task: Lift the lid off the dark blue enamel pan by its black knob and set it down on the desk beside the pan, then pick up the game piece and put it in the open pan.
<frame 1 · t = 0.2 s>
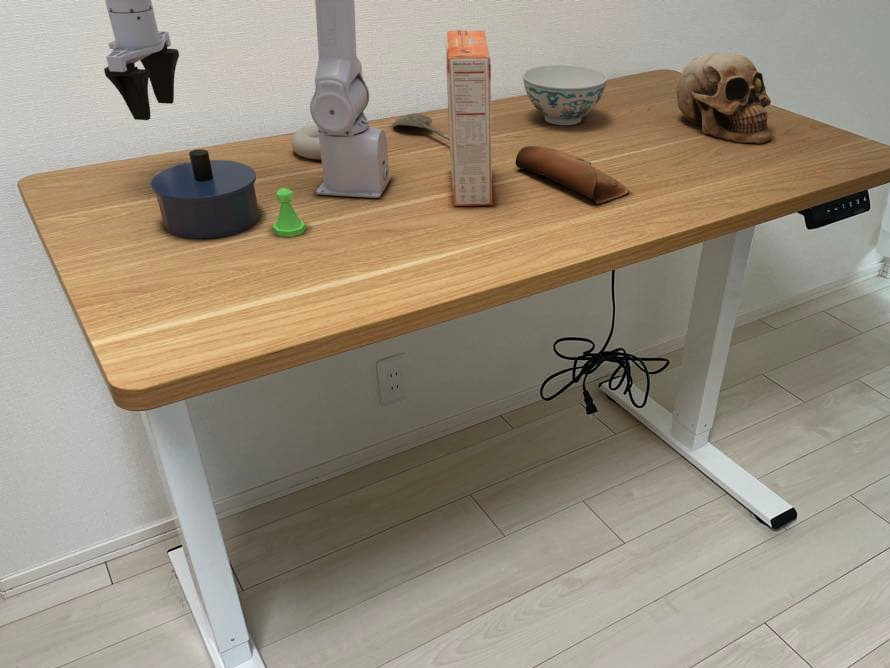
hand: (154, 110, 122), 10 cm above the table, tool pointing down, fingers open, 7 cm apart
soupspoon: (435, 142, 144), on the table
pan: (212, 219, 116), on the table
pan lid: (204, 181, 113), point 5 cm above the table, touching pan
sunglasses case: (571, 183, 130), on the table
game piece: (289, 231, 114), on the table
chinaware: (563, 120, 154), on the table
cracker box: (470, 189, 127), on the table
donut: (323, 153, 138), on the table
beige skull model: (722, 128, 153), on the table
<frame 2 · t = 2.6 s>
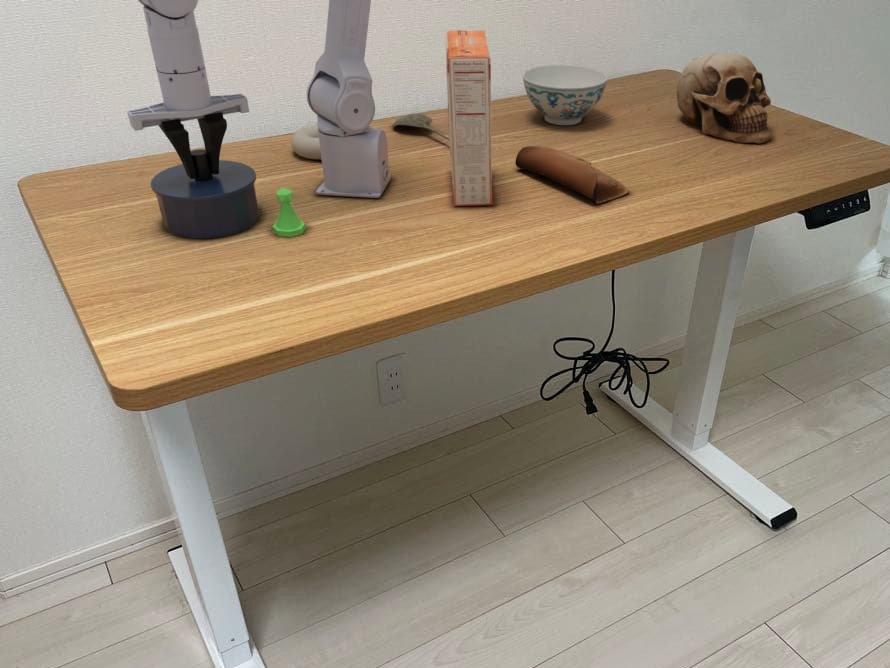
hand: (203, 174, 112), 6 cm above the table, tool pointing down, fingers closed on pan lid, 2 cm apart
pan lid: (204, 181, 113), point 5 cm above the table, touching gripper, pan
everything else where it was.
when the fingers open (2 cm above the table, at t = 7.3 s): pan lid stays where it is, point 1 cm above the table.
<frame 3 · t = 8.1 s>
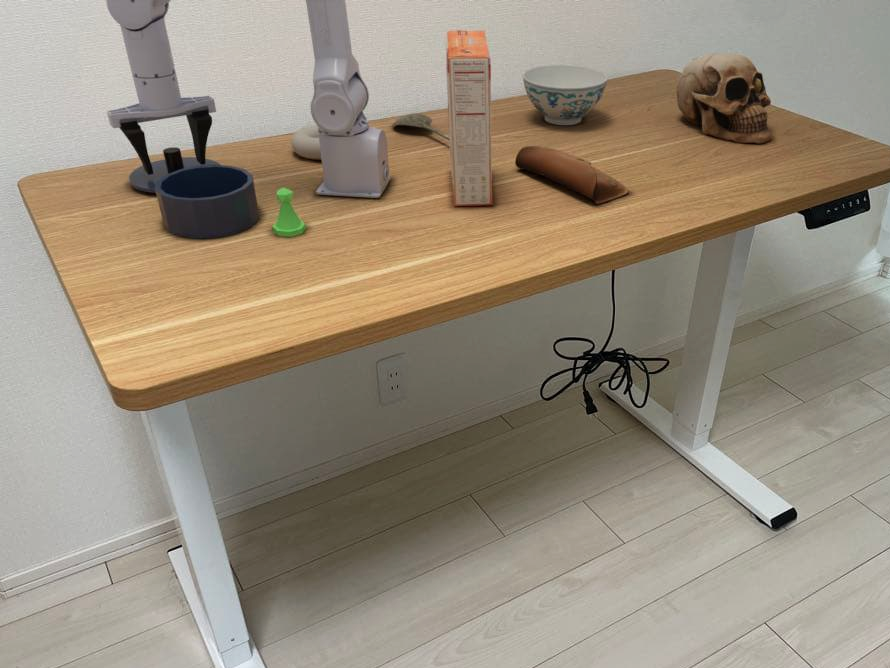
hand: (175, 167, 126), 2 cm above the table, tool pointing down, fingers open, 7 cm apart
pan lid: (177, 176, 127), point 1 cm above the table
everything else where it was.
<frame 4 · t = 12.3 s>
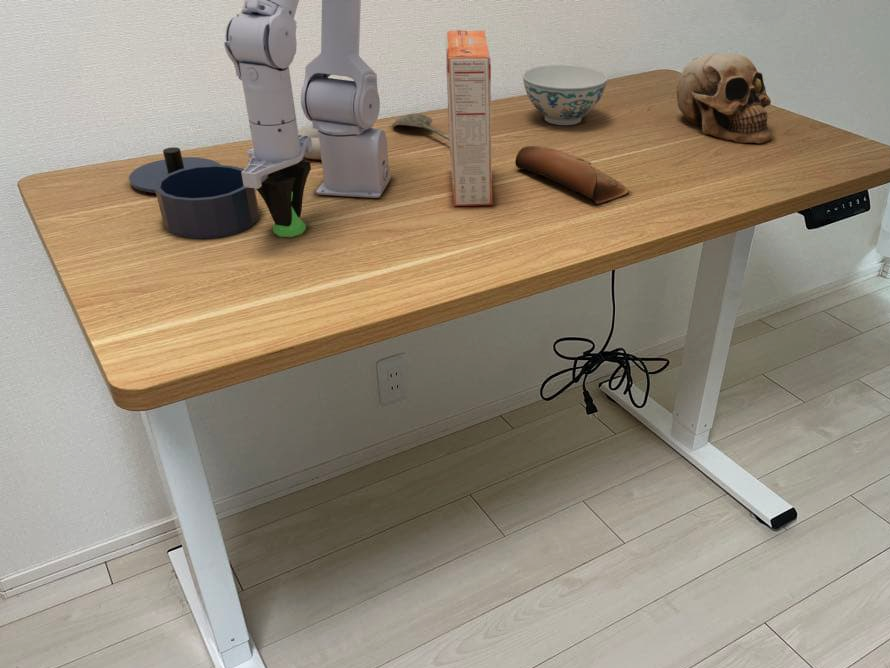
hand: (288, 220, 113), 1 cm above the table, tool pointing down, fingers closed on game piece, 2 cm apart
game piece: (289, 231, 114), on the table, touching gripper
everything else where it was.
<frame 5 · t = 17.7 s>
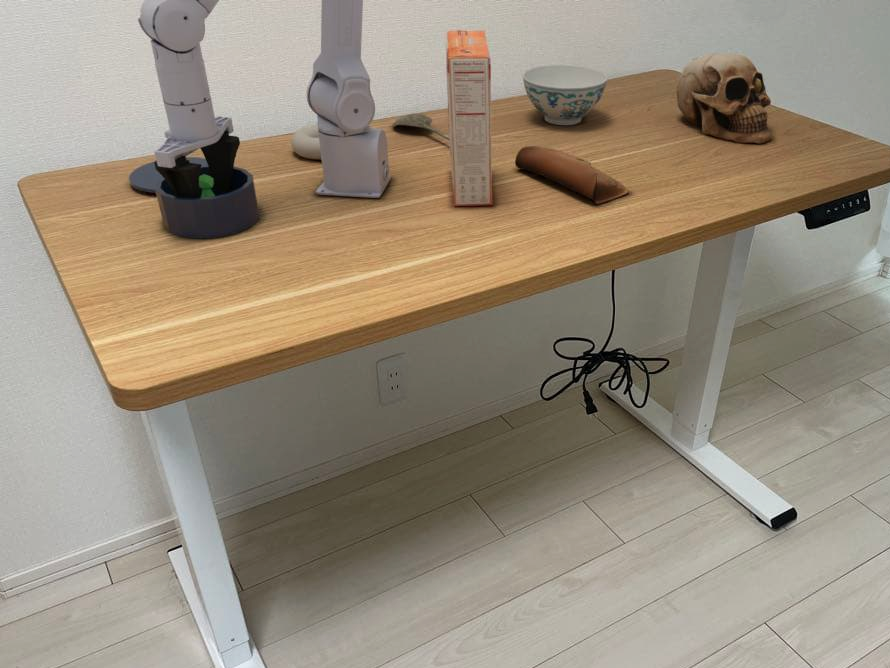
hand: (208, 201, 115), 3 cm above the table, tool pointing down, fingers open, 7 cm apart
game piece: (212, 217, 116), resting on pan
everything else where it was.
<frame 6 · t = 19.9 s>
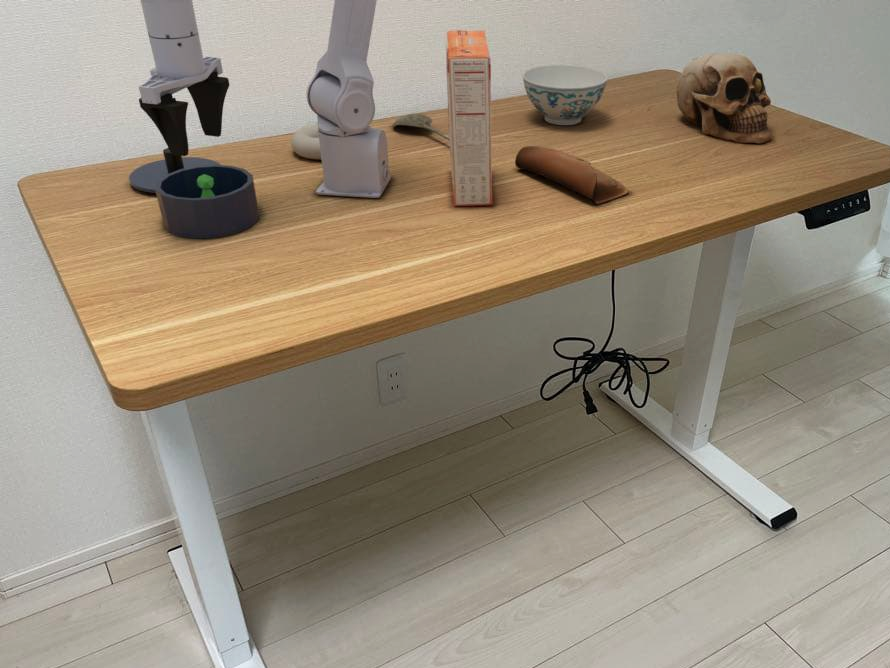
hand: (196, 144, 110), 10 cm above the table, tool pointing down, fingers open, 7 cm apart
nothing on the table moved.
at the end: pan lid inside the target area (0.0 cm from its centre), point 0.6 cm above the table; game piece inside the target area in the pan (0.0 cm from its centre), point 0.2 cm above the pan's base; game piece tilted 0° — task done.
